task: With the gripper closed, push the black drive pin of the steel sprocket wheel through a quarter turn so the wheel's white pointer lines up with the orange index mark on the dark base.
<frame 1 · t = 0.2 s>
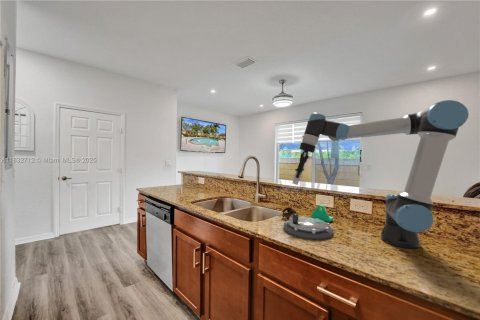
hand: (295, 182, 107), 27 cm above the worktop, tool tilted 15°, fingers open, 13 cm apart
camera mount: (321, 220, 133), on the worktop
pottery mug: (289, 218, 137), on the worktop
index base: (307, 230, 113), on the worktop
index wheel: (307, 219, 113), point 6 cm above the worktop, hinge at 90.0°
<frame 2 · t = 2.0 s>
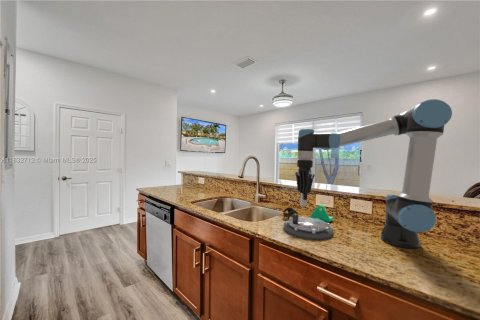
hand: (303, 205, 104), 16 cm above the worktop, tool pointing down, fingers closed
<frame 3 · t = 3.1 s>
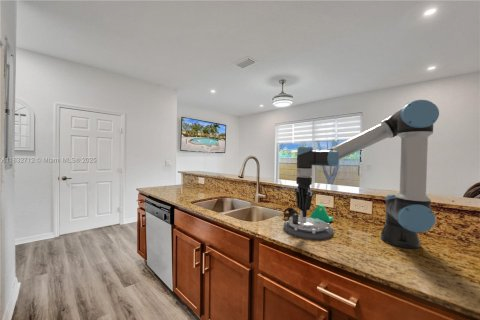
hand: (302, 222, 104), 7 cm above the worktop, tool pointing down, fingers closed
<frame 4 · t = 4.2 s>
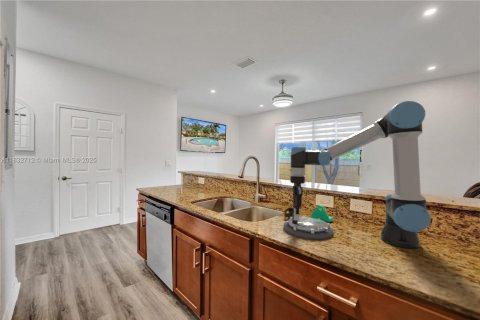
hand: (296, 219, 109), 7 cm above the worktop, tool pointing down, fingers closed
index wheel: (307, 219, 113), point 6 cm above the worktop, hinge at 86.7°, touching gripper
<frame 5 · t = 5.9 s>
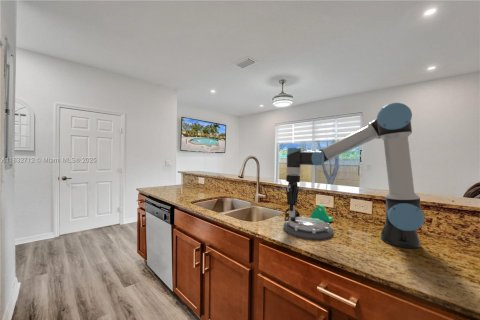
hand: (291, 216, 115), 7 cm above the worktop, tool pointing down, fingers closed
index wheel: (307, 219, 113), point 6 cm above the worktop, hinge at 45.4°, touching gripper
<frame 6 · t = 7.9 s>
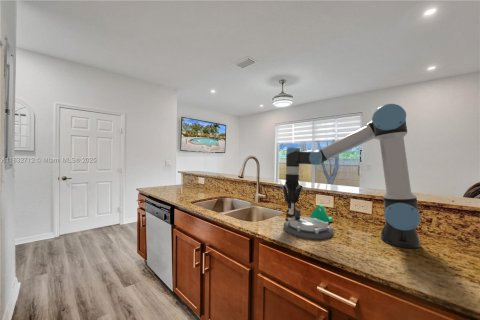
hand: (291, 213, 119), 7 cm above the worktop, tool pointing down, fingers closed
index wheel: (307, 219, 113), point 6 cm above the worktop, hinge at 7.7°
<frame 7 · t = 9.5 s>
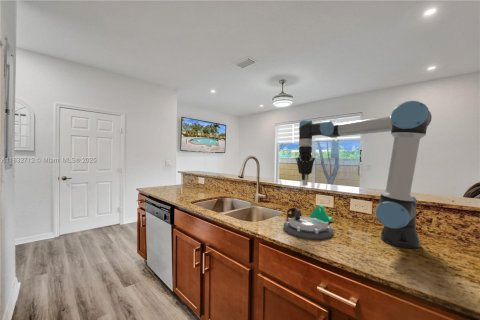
hand: (304, 185, 123), 24 cm above the worktop, tool pointing down, fingers closed
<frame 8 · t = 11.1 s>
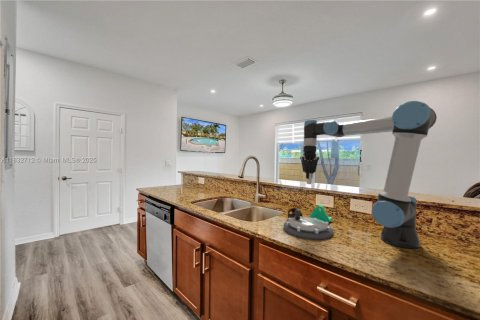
hand: (308, 183, 125), 24 cm above the worktop, tool pointing down, fingers closed
at the end: index wheel at +8° (first picture: +90°) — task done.
